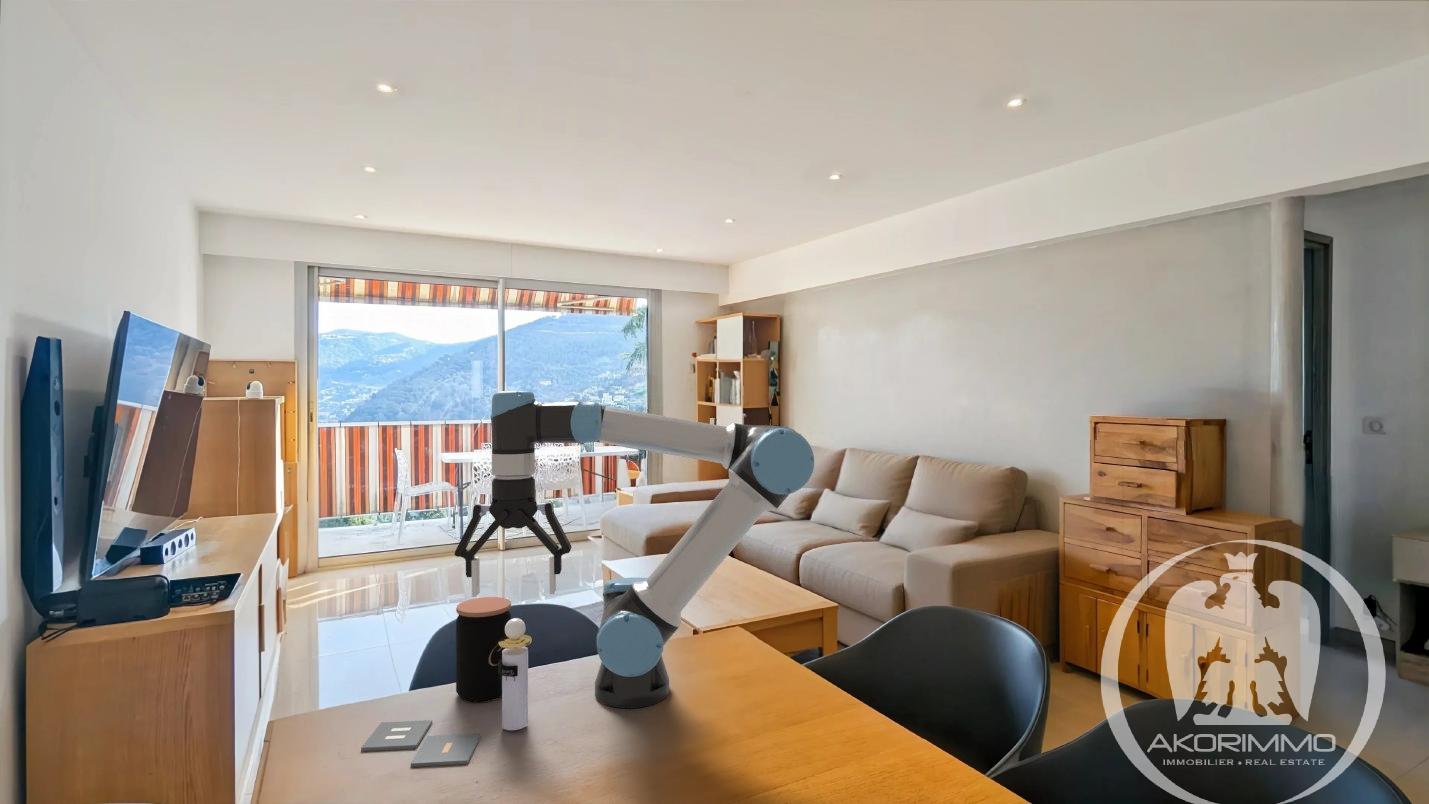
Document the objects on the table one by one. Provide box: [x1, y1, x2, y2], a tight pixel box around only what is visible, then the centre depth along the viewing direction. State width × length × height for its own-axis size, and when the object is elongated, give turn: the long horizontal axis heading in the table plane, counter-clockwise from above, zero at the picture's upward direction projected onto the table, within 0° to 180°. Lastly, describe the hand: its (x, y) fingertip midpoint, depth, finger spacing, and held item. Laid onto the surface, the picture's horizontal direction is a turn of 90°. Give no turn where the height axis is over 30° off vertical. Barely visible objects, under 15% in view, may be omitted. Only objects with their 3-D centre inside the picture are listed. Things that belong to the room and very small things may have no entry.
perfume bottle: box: [499, 617, 532, 731], centre depth 124 cm, size 6×6×20 cm
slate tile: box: [410, 732, 482, 768], centre depth 116 cm, size 9×9×1 cm
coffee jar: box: [455, 596, 512, 704], centre depth 139 cm, size 11×11×18 cm
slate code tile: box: [360, 719, 433, 752], centre depth 121 cm, size 9×9×1 cm
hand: (514, 593), depth 124 cm, fingers open, 13 cm apart
